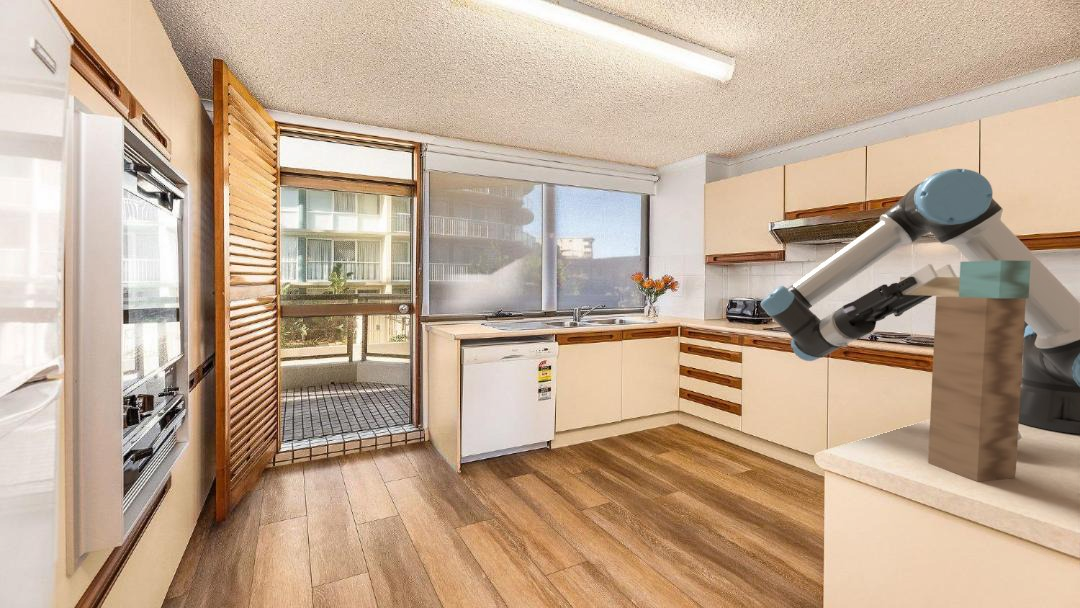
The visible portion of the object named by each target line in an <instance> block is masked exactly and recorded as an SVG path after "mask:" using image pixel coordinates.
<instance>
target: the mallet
mask: <svg viewBox="0 0 1080 608" xmlns="http://www.w3.org/2000/svg"><path fill="white" fill-rule="evenodd" d="M1030 265H1031V261H1008V260H998V261H969V260H968V261H960V266H959V276H957V277H938V278H936V279H935V280H933V281H931V282H929V283H927V284H926V285H924V286H922V287H920V288H918V289H917V290H915V291H913V292H911V293H909V294H904V292H902V293H903V295H924V296H932V297H936V296H953V297H973V298H1029V282H1030ZM906 277H907V276H903V277H902V276H900V278H899V282H900V281H901V280H903V279H905V278H906Z"/></svg>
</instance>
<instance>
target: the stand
mask: <svg viewBox="0 0 1080 608" xmlns="http://www.w3.org/2000/svg"><path fill="white" fill-rule="evenodd" d="M1025 306H1026V298H973V297H953V296H935V312H934V313H935V315H934V330H933V331H934V334H933V356H932V357H933V358H932V375H931V398H930V416H929V417H930V419H929V435H928V436H929V437H928V441H929V442H928V454H927V455H928V458H927V463H928V464H930V465H933V466H936V467H938V468H941V469H943V470H946V471H949V472H951V473H954V474H956V475H959V476H961V477H965V478H966V479H969V480H972V481H975V482H984V481H985V482H986V481H995V480H1006V479H1015V478H1016V476H1017V475H1016V473H1017V457H1018V456H1017V455H1018V441H1019V440H1018V430H1019V426H1020V425H1019V408H1020V391H1021V381H1022V360H1023V340H1024V333H1025V323H1026V322H1025Z"/></svg>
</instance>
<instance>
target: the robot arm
mask: <svg viewBox="0 0 1080 608" xmlns="http://www.w3.org/2000/svg"><path fill="white" fill-rule="evenodd" d="M1003 210H1004V209H1003V208H1002V207H1001V206H1000V204H999V203H997V201H996V200H995V199H994V198H993V187H992V185H991V183H990V182H989V180H988V179H987V178H986V177H985V176H984V175H982V174H980V173H979V172H978V171H974V170H971V169H966V168H952V169H947V170H941V171H939V172H937V173H934V174H932V175H931V176H928V177H927V178H926V179H924V180H923V181H922V182H920V183H918V184H917V185H915V186H913V187H912V188H911V189H909V191H907V193H906V194H904V196H903V197H900V199H899V200H898V201H897V202H896V203H894V205H893V206H892V207H890V208H889V209H888V210H887V211H885V212H883V213H882V214H881V215H880V217H879V221H878V222H877V223H876V224H874V225H873V226H872V227H870V228H868V229H867V230H866V231H864V232H863V233H862V234H860V235H859V236H858V237H856V238H855V239H854V240H852V241H851V242H849V243H848V244H847V245H845V246H844V247H842V248H841V249H840V250H839V251H837V252H836V253H834V254H832V256H830V257H828V258H827V259H826V260H825V261H823V262H822V263H820V264H819V265H817V266H816V267H815V268H814V269H812V270H811V271H810V272H808V273H807V274H805V275H804V276H803V277H801V278H799V279H798V280H797V281H795V282H794V283H793V284H792V285H790V286H788V287H785V286H784V285H780V286H778V287H777V288H775V289H774V290H773V291H772V292H770V293H769V294H768V295H767V296H765V297H764V298H763V300H761V302H760V307H761V308H762V309H763V311H765V313H766V314H767V315H768V316H769V317H771V319H772V320H773V321H774V322H776V323H777V325H779V326H780V327H781V328H782V329H783V330H784V331H785V332H786V333H788V334H789V336H790V338H792V339H791V341H790V348H791V349H792V350H793V353H794V355H795V356H797V357H798V358H799V359H801V360H803V361H806V362H814V361H816V360H818V359H821V358H824V357H827V356H828V355H829V354H831V353H833V352H835V351H836V350H839V349H841V348H842V347H844V348H847V347H849V345H848V344H850V343H853V342H855V341H856V340H857V339H860V338H863V337H865V336H866V335H869V334H871V333H872V332H873V331H874V330H875V328H876V325H877V322H879V321H882V320H884V319H886V317H888V316H891V315H892V314H893V316H894V317H900V316H902V315H903V314H904V313H905V312H907V311H908V310H911V309H912V308H913V307H916V306H917V305H920V304H921V303H923V302H925V301H926V300H928V299H930V298H932V297H933V296H924V295H903V293H902V292H904V294H909V293H911V292H913V291H915V290H917V289H918V288H920V287H922V286H924V285H926V284H927V283H929V282H931V281H933V280H935V279H936V278H938V277H958V276H957V275H956V273H955V271H954V269H953V267H952V266H951V264H946V265H944V266H942V267H940V268H938V269H936V270H935V268H934V266H933V264H927V265H925V266H923V267H921V268H920V269H918V270H917V271H915V272H913V273H911V274H910V275H908V276H905V277H906V278H905V279H903V280H901V281H900V280H899V281H898V282H892V283H891V284H890V285H888V284H882V285H880V286H878V287H876V288H874V289H873V290H871V291H869V292H867V293H865V294H864V295H862V296H860V297H858V298H857V299H855V300H853V301H851V302H849V303H846V304H844V305H843V306H842V307H840V308H839V309H837V310H834V311H833V312H832V313H829V314H828V315H826V316H825V317H823V318H822V319H820V318H819V317H818V316H817V315H816V314H815V313H814V312H812V310H811V308H812V307H813V306H815V305H816V304H817V303H819V302H820V301H821V300H824V299H825V298H826V297H828V296H829V295H831V294H832V293H834V292H835V291H836V290H838V289H840V288H841V287H842V286H844V285H845V284H847V283H848V282H850V281H851V280H853V279H854V278H855V277H857V276H858V275H859V274H861V273H862V272H864V271H865V270H867V269H868V268H870V267H871V266H873V265H874V264H876V263H877V262H879V261H880V260H882V259H883V258H884V257H886V256H888V255H889V254H890V253H892V252H893V251H895V250H896V249H898V248H899V247H900V246H903V245H910V244H912V243H913V242H915V241H917V240H919V239H920V238H922V237H923V236H925V235H928V234H929V233H931V234H932V235H933V236H934V237H935V238H936V239H937V240H938V241H939V242H940V243H941V244H943V245H952V246H954V247H955V248H956V249H958V250H959V252H960V253H961V254H962V255H963V256H964V257H965V258H966V259H967V260H968V261H998V260H1008V261H1031V265H1030V282H1029V298H1026V306H1025V323H1026V324H1027V325H1026V326H1025V327H1024V340H1023V357H1022V374H1021V391H1020V408H1019V423H1020V424H1023V425H1025V426H1031V427H1034V428H1038V429H1043V430H1049V431H1054V432H1061V433H1068V434H1078V435H1080V301H1079V300H1078V298H1076V297H1075V296H1074V295H1073V294H1072V293H1071V292H1070V291H1069V290H1068V288H1067V287H1066V286H1065V285H1063V284H1062V283H1061V281H1060V280H1059V279H1058V278H1057V277H1056V276H1055V275H1054V274H1053V273H1052V271H1050V270H1049V269H1048V268H1047V267H1046V266H1045V265H1044V263H1043V262H1041V260H1039V259H1038V257H1037V256H1036V255H1035V254H1034V253H1033V252H1032V251H1031V250H1030V249H1029V248H1028V247H1027V246H1026V245H1025V244H1024V243H1023V242H1022V241H1021V240H1020V239H1019V238H1018V236H1016V235H1015V233H1013V231H1012V230H1011V229H1010V228H1009V227H1008V226H1007V225H1006V224H1005V223H1004V222H1003V221H1002V219H1001V218H1002V213H1003Z"/></svg>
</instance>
